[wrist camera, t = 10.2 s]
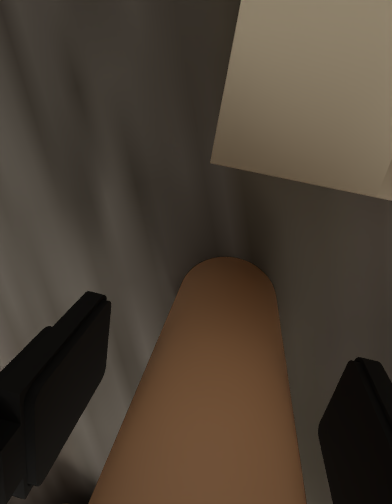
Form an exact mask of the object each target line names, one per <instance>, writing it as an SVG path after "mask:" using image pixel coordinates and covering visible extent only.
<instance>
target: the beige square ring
mask: <svg viewBox="0 0 392 504" xmlns="http://www.w3.org/2000/svg"><path fill="white" fill-rule="evenodd" d="M210 163H212V164H217V165H221V166H226V167H231V168H236V169H241V170H246V171H250V172H255V173H260V174H265V175H270V176H275V177H279V178H284V179H289V180H294V181H299V182H303V183H308V184H313V185H318V186H323V187H328V188H332V189H337V190H342V191H347V192H352V193H356V194H361V195H366V196H371V197H376V198H381V199H385V200H390V201H392V0H241V4H240V9H239V14H238V19H237V24H236V30H235V35H234V40H233V45H232V50H231V56H230V61H229V66H228V71H227V77H226V82H225V87H224V92H223V97H222V103H221V108H220V113H219V118H218V124H217V129H216V134H215V139H214V144H213V150H212V155H211V160H210Z"/></svg>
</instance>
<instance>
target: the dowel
mask: <svg viewBox="0 0 392 504" xmlns="http://www.w3.org/2000/svg"><path fill="white" fill-rule="evenodd" d="M88 504H307V502H306V496H305V489H304V482H303V475H302V468H301V462H300V455H299V448H298V441H297V435H296V428H295V421H294V414H293V407H292V401H291V394H290V387H289V380H288V374H287V367H286V360H285V353H284V346H283V340H282V333H281V326H280V319H279V313H278V306H277V299H276V294H275V290H274V287H273V285H272V283H271V281H270V279H269V278H268V277H267V275H266V274H265V273H264V272H263V271H262V270H261V269H259V268H258V267H257V266H255V265H253V264H252V263H250V262H248V261H245V260H242V259H239V258H234V257H216V258H211V259H208V260H205V261H203V262H201V263H199V264H198V265H196V266H195V267H193V268H192V269H191V270H190V271H189V272H188V273H187V275H186V276H185V278H184V279H183V281H182V284H181V286H180V288H179V291H178V293H177V296H176V298H175V300H174V303H173V305H172V307H171V310H170V312H169V314H168V317H167V319H166V321H165V324H164V326H163V329H162V331H161V333H160V336H159V338H158V340H157V343H156V345H155V347H154V350H153V352H152V355H151V357H150V359H149V362H148V364H147V366H146V369H145V371H144V373H143V376H142V378H141V380H140V383H139V385H138V388H137V390H136V392H135V395H134V397H133V399H132V402H131V404H130V406H129V409H128V411H127V414H126V416H125V418H124V421H123V423H122V425H121V428H120V430H119V432H118V435H117V437H116V440H115V442H114V444H113V447H112V449H111V451H110V454H109V456H108V458H107V461H106V463H105V465H104V468H103V470H102V473H101V475H100V477H99V480H98V482H97V484H96V487H95V489H94V491H93V494H92V496H91V499H90V501H89V503H88Z"/></svg>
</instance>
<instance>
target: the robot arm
mask: <svg viewBox="0 0 392 504" xmlns="http://www.w3.org/2000/svg"><path fill="white" fill-rule="evenodd" d="M110 314H111V302H110V301H107V298H106V296H105V295H102V294H98V293H94V292H90V291H87V292H86V293H85V294H84V295H83V296H82V297H81V298H80V299H79V300H78V301H77V302H76V303H75V304H74V305H73V306H72V307H71V308H70V309H69V310H68V311H67V312H66V313H65V314H64V315H63V316H62V318H61V319H60V320H59V321H58V322H57V323H56V324H55V325H54V326H53V327H51V326H48V327H45V328H44V329H43V330H42V331H41V332H40V333H39V334H38V335H37V336H36V337H35V338H34V339H33V340H32V341H31V342H30V343H29V344H28V345H27V346H26V347H25V348H24V349H23V350H22V351H21V352H20V353H19V354H18V355H17V356H16V357H15V358H14V359H13V360H12V361H11V362H10V363H9V364H8V365H7V366H6V367H5V368H4V369H3V370H2V371H1V372H0V504H7V502H8V501H9V499H10V498H11V496H15V497H18V498H21V499H26V497H27V495H28V494H29V492H30V490H31V488H32V487H33V485H34V486H40V485H41V484H42V482H43V481H44V479H45V477H46V476H47V474H48V472H49V470H50V469H51V467H52V465H53V463H54V462H55V460H56V458H57V456H58V455H59V453H60V451H61V449H62V448H63V446H64V444H65V442H66V441H67V439H68V437H69V436H70V434H71V432H72V430H73V429H74V427H75V425H76V423H77V422H78V420H79V418H80V416H81V415H82V413H83V411H84V409H85V408H86V406H87V404H88V402H89V401H90V399H91V397H92V395H93V394H94V392H95V390H96V389H97V387H98V385H99V383H100V382H101V380H102V378H103V375H104V373H105V369H106V359H107V348H108V336H109V325H110ZM318 436H319V441H320V445H321V450H322V455H323V459H324V464H325V469H326V473H327V478H328V482H329V487H330V492H331V496H332V501H333V504H392V383H391V381H390V379H389V377H388V375H387V373H386V372H385V370H384V368H383V366H382V364H381V363H380V362H378V361H373V360H369V359H365V358H361V357H357V358H356V359H355V360H354V361H352V360H350V361H349V362H348V364H347V366H346V368H345V370H344V372H343V374H342V376H341V378H340V381H339V383H338V385H337V387H336V389H335V391H334V393H333V395H332V398H331V400H330V402H329V404H328V406H327V408H326V410H325V413H324V415H323V417H322V419H321V421H320V424H319V428H318Z"/></svg>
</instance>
